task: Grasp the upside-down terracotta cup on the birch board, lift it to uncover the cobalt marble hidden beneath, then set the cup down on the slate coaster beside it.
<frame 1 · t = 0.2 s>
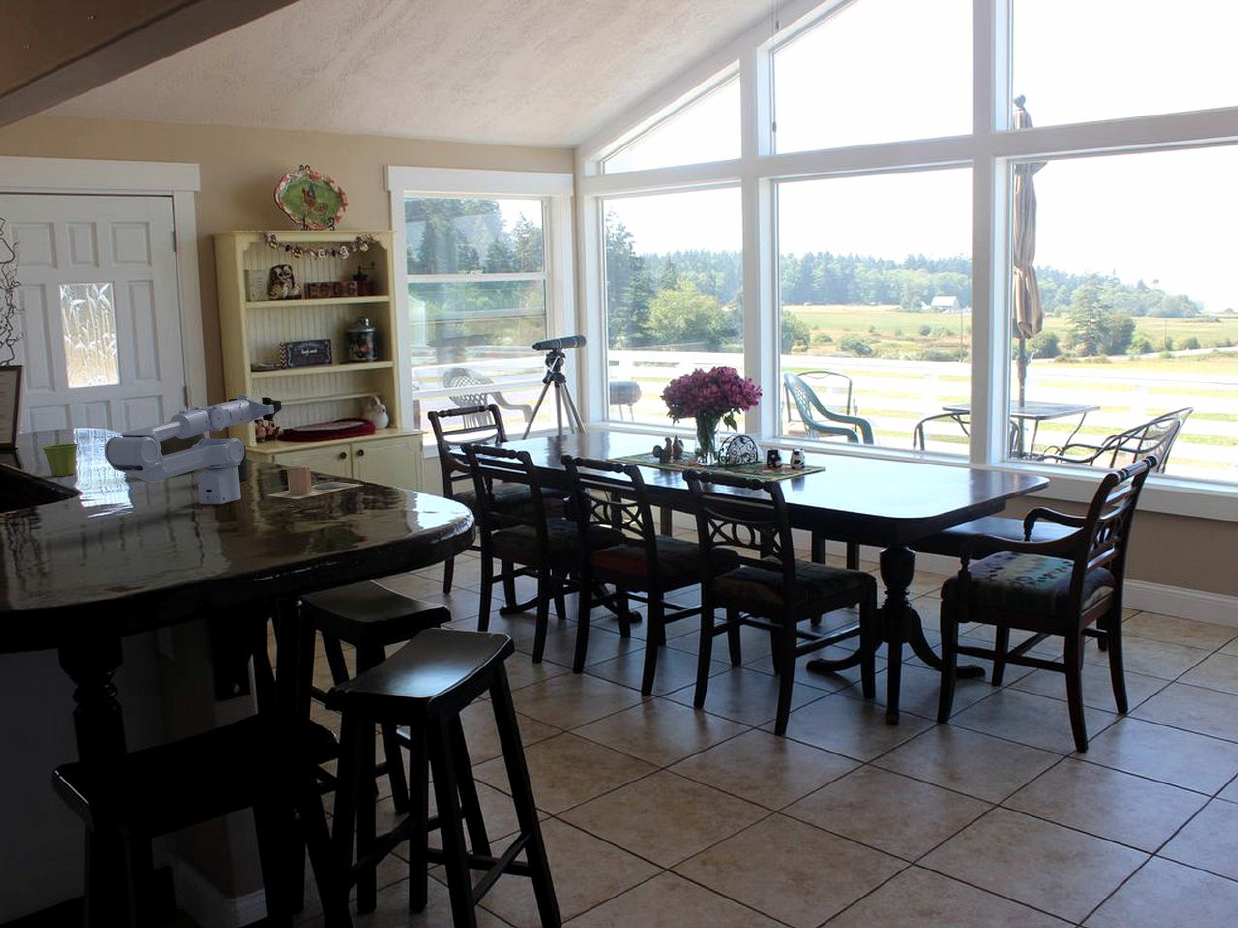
hand: (267, 405, 293), 21 cm above the kitchen island counter, tool horizontal, fingers open, 7 cm apart
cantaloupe: (183, 472, 335), on the kitchen island counter
board: (316, 494, 285), on the kitchen island counter
marble: (300, 486, 282), point 2 cm above the kitchen island counter, touching board
plant pot: (63, 475, 339), on the kitchen island counter
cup: (300, 493, 282), point 1 cm above the kitchen island counter, touching board
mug: (229, 480, 315), on the kitchen island counter
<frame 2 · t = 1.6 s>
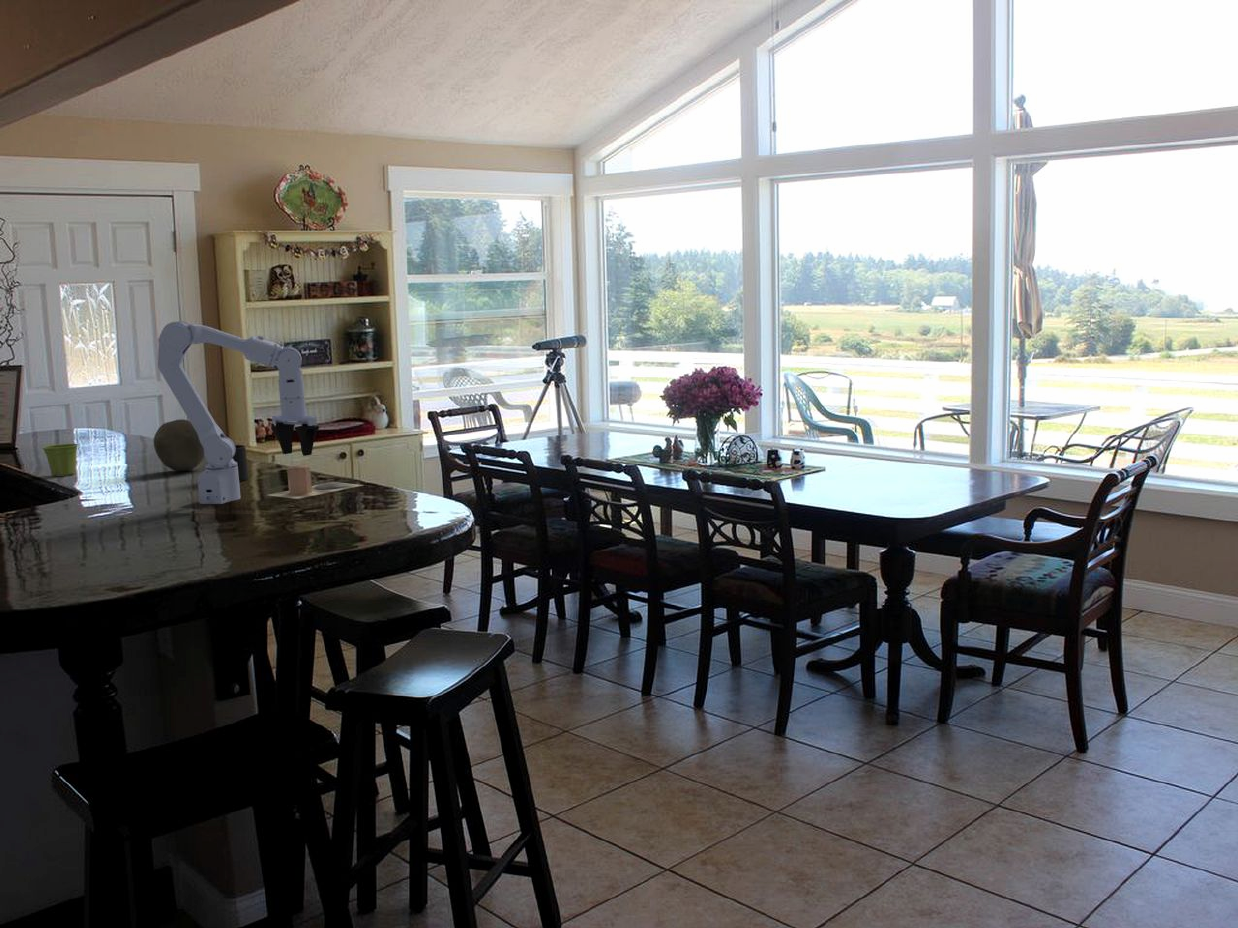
hand: (297, 454, 280), 10 cm above the kitchen island counter, tool pointing down, fingers open, 7 cm apart
nothing on the kitchen island counter moved.
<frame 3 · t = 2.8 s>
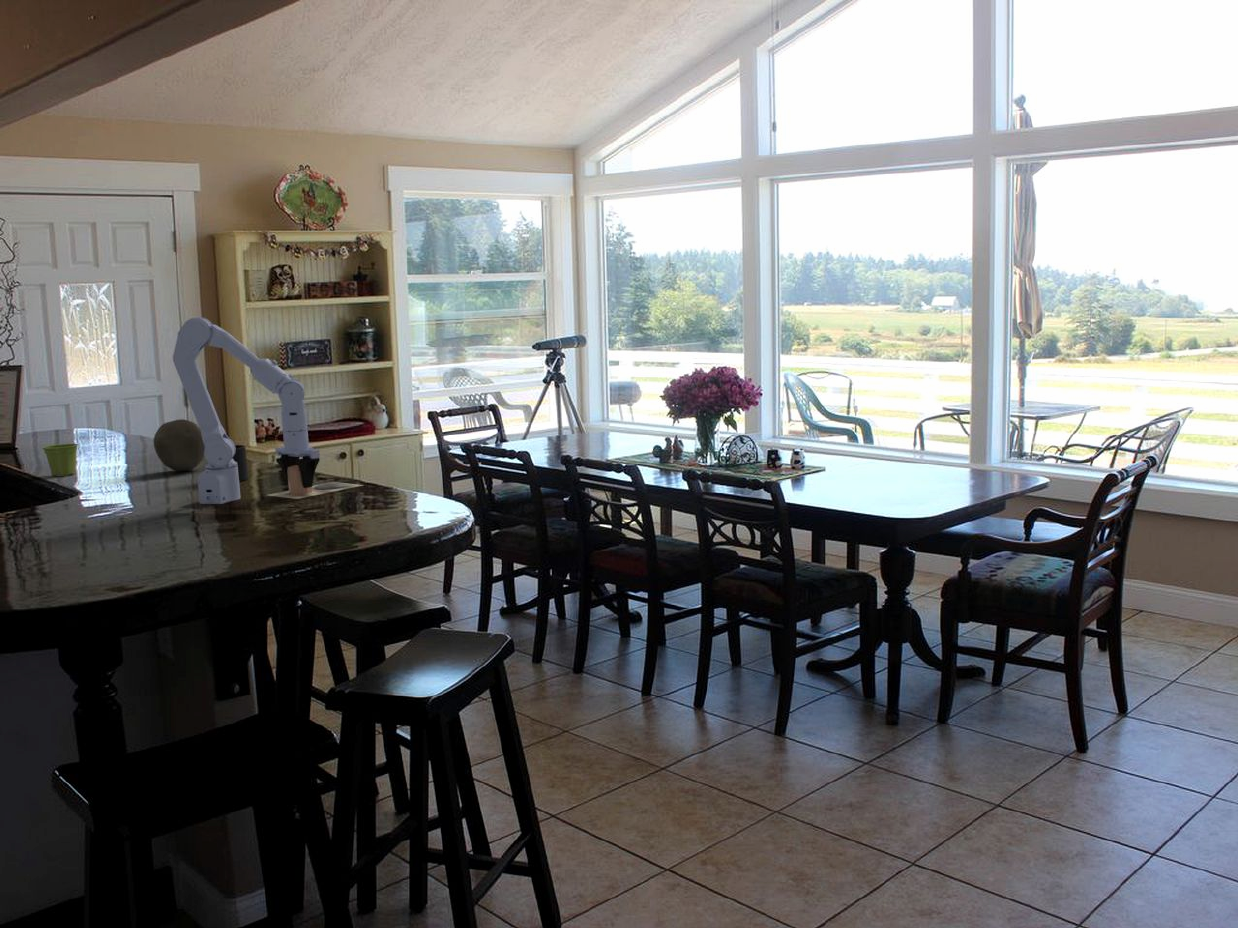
hand: (300, 486, 282), 3 cm above the kitchen island counter, tool pointing down, fingers closed on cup, 5 cm apart
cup: (300, 493, 282), point 1 cm above the kitchen island counter, touching board, gripper
everything else where it was.
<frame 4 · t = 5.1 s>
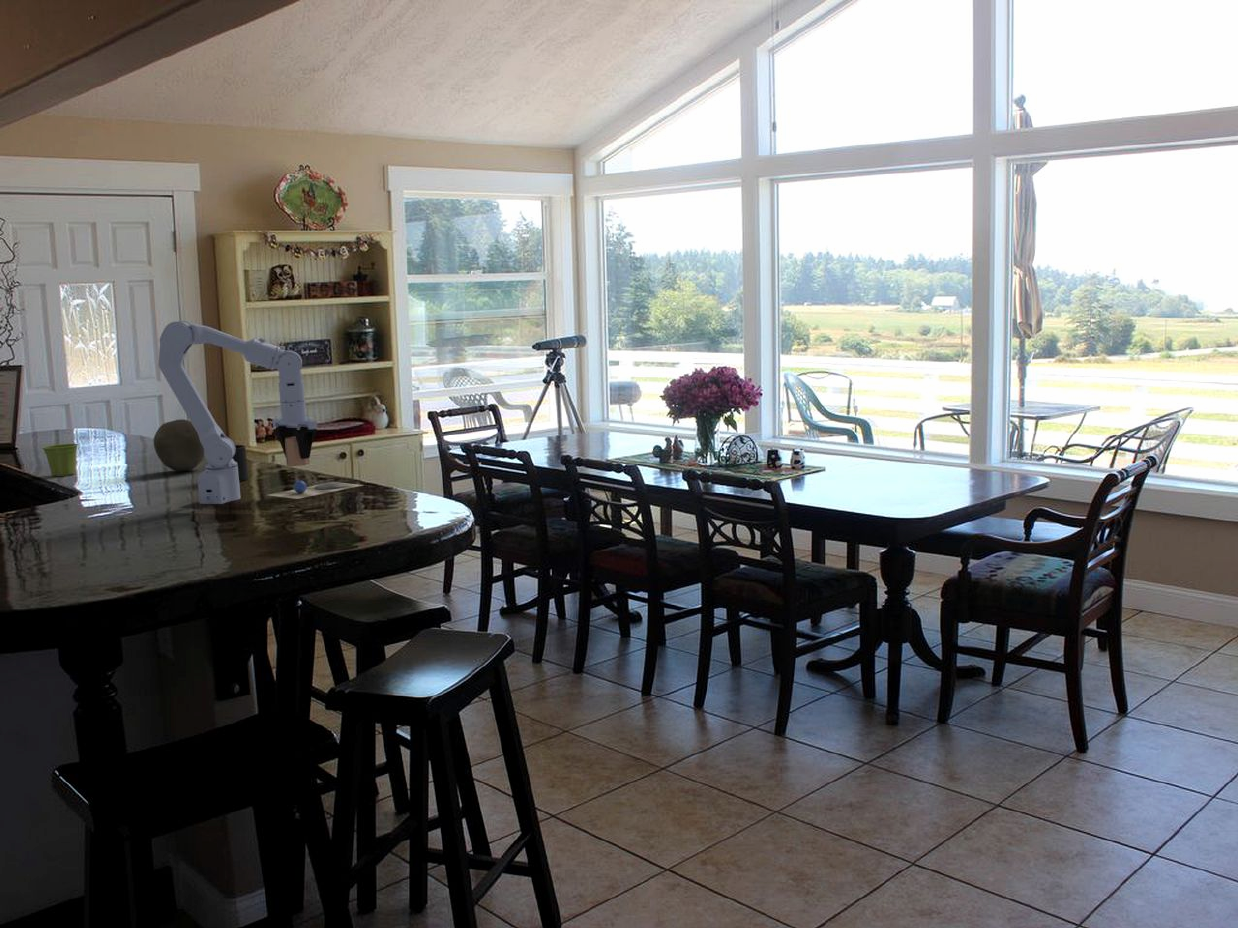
hand: (297, 457, 281), 10 cm above the kitchen island counter, tool pointing down, fingers closed on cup, 5 cm apart
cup: (298, 464, 281), point 8 cm above the kitchen island counter, touching gripper
everything else where it was.
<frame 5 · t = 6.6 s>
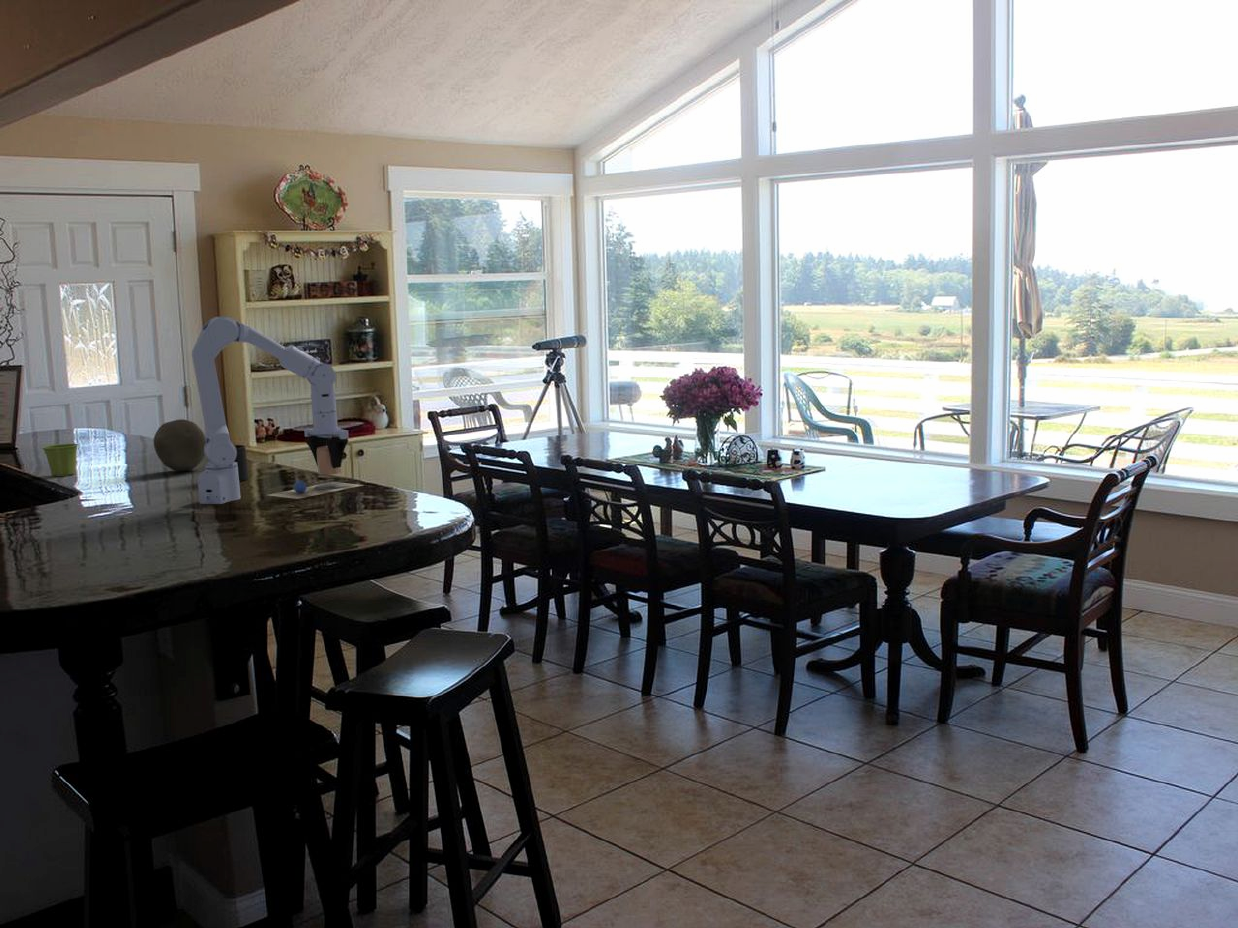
hand: (329, 466, 288), 6 cm above the kitchen island counter, tool pointing down, fingers closed on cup, 5 cm apart
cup: (329, 473, 288), point 4 cm above the kitchen island counter, touching gripper
everything else where it was.
when the fingers open (4 cm above the kitchen island counter, at t = 7.6 s): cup stays where it is, resting on board.
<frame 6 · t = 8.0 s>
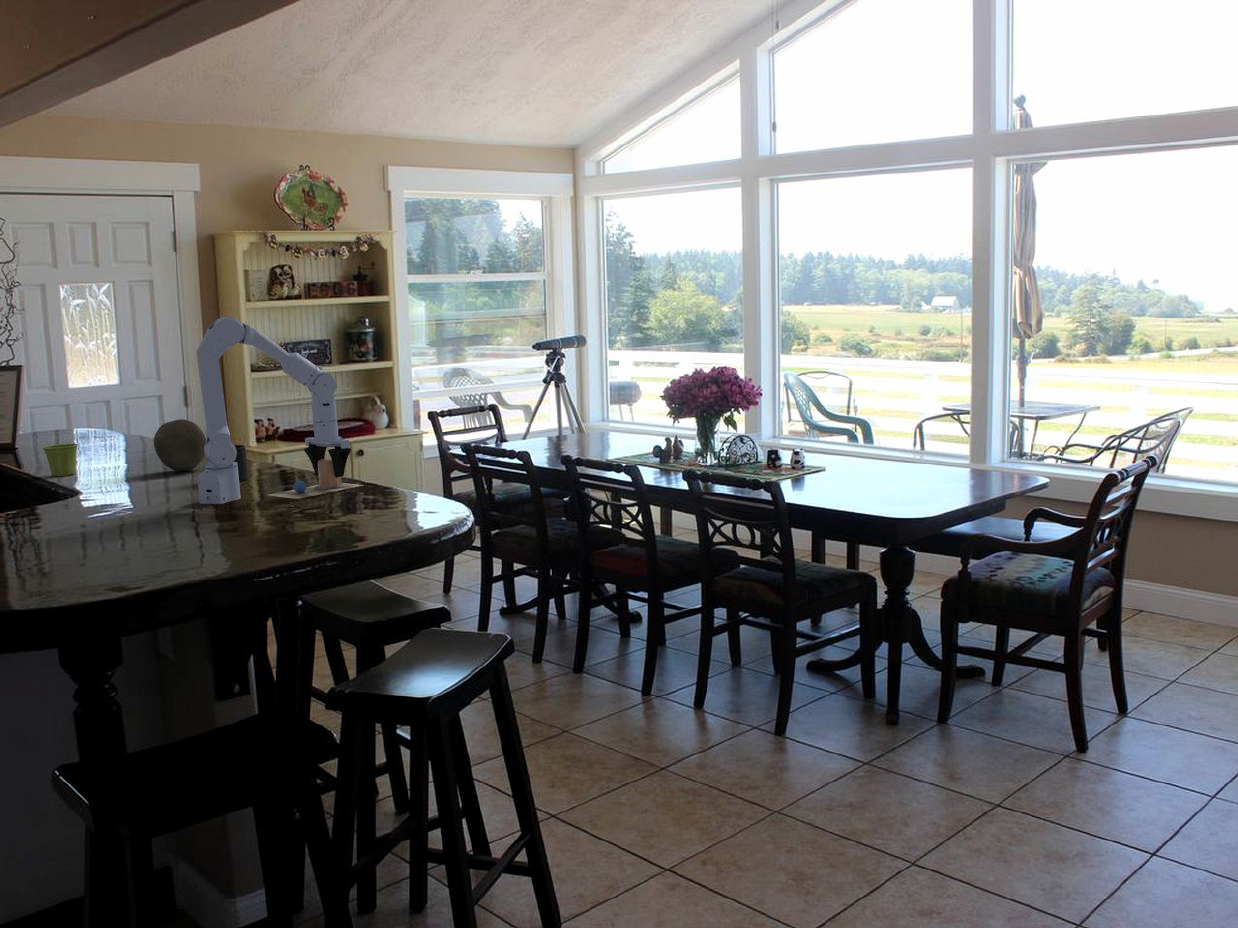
hand: (329, 475, 288), 4 cm above the kitchen island counter, tool pointing down, fingers open, 7 cm apart
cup: (330, 485, 289), point 1 cm above the kitchen island counter, touching board
everything else where it was.
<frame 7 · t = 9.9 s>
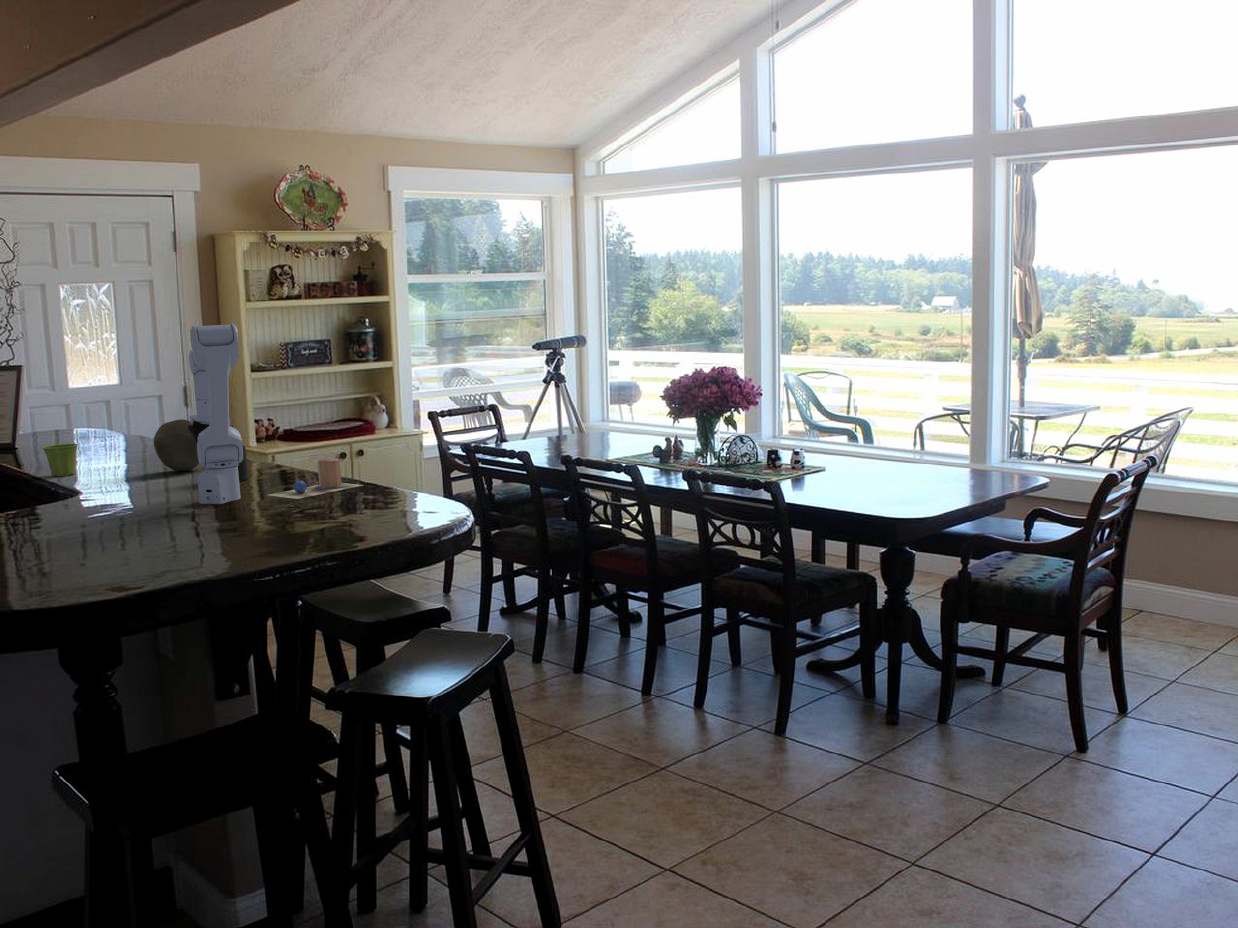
hand: (212, 453, 290), 10 cm above the kitchen island counter, tool pointing down, fingers open, 7 cm apart
nothing on the kitchen island counter moved.
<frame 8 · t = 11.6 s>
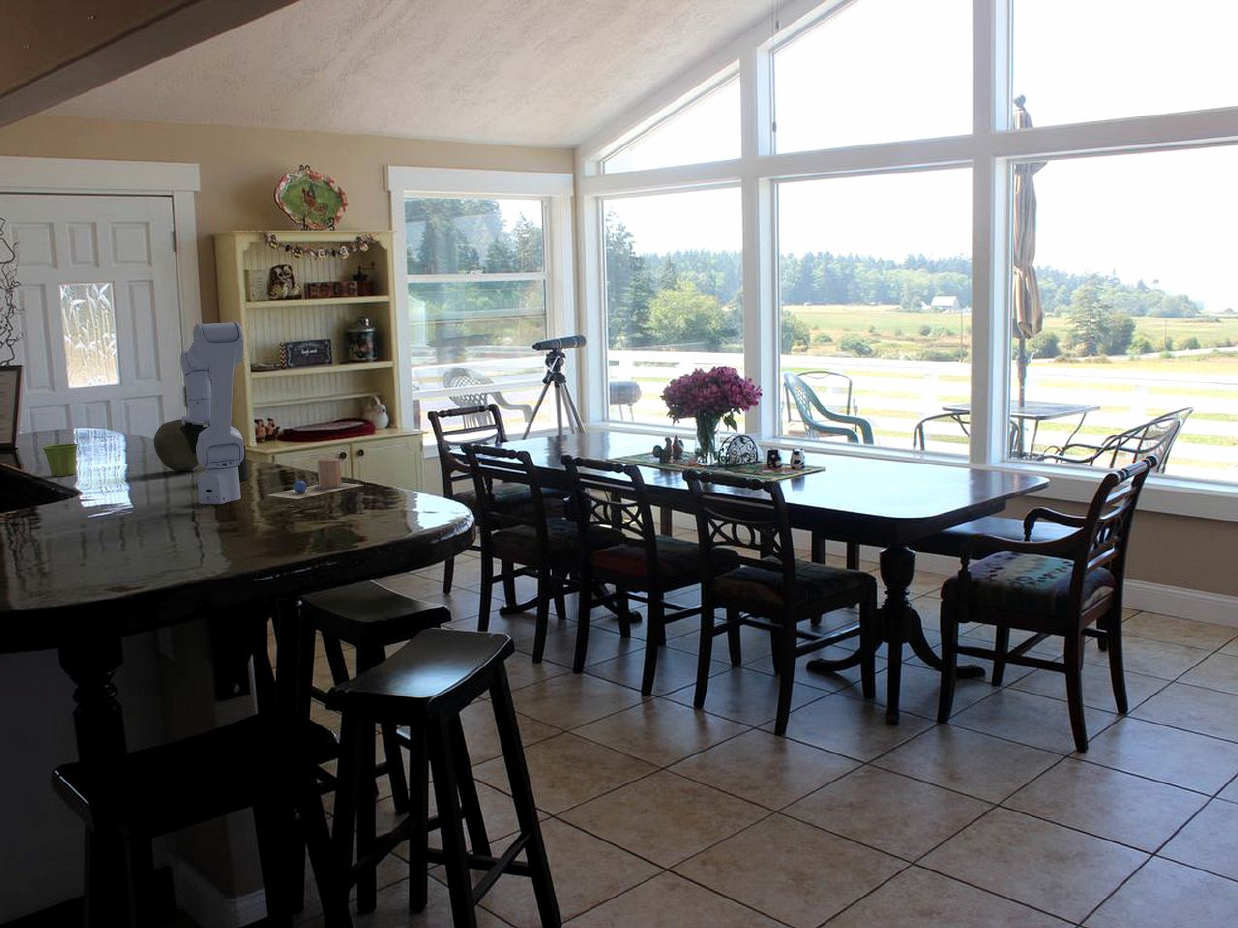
hand: (205, 453, 290), 10 cm above the kitchen island counter, tool pointing down, fingers open, 7 cm apart
nothing on the kitchen island counter moved.
at the end: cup 0.1 cm from the target spot, point 1.3 cm above the kitchen island counter; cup tilted 0°; the gripper is holding nothing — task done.
